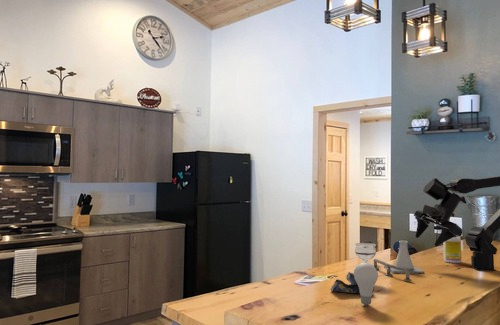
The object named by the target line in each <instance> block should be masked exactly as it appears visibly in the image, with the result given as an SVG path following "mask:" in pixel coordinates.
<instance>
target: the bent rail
mask: <svg viewBox="0 0 500 325" xmlns="http://www.w3.org/2000/svg"><path fill="white" fill-rule="evenodd" d="M378 264H381V265H382V266H384V265H385V266H387V269H386V273H385V274H384V276H386V277H392V276H393V273H392V272H390V268H394V269H398V270H402V271H405V272H406V274H405V278H403V281H404V282H406V281H408V282H409V283H411V281H412V280H413V279H412V278H410V275H411V274H410V273H409V270H408V269H406V268H402V267H398V266H394V265H395V264H394V265H393V264H390V263H388V262H386V261H385V262H384V261H382V260H380V259H377V258H374V259H373V266H374V267H375V268H376V270H377V271H378V270H380V268H379V267H378Z"/></svg>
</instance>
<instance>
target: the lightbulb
mask: <svg viewBox="0 0 500 325" xmlns="http://www.w3.org/2000/svg"><path fill="white" fill-rule="evenodd" d="M353 274H354V278H355V280H356V282H357V284H358V287H359V291H360V293H359V295H360V302H361V304H362V305H363V306H365V307H368V306H369V305H371V304H372V296H373V294H372V292H373V293H374V291H373V290H374V287H375V285H376V283H377V280H378V278H379V273H378V270H376V268H375V267H374V264H371V263H370V262H367V263H365V262H364V261H363V262H361V263H360V262H359V263H358V264H357V265H356V266H355V268H354V269H353Z"/></svg>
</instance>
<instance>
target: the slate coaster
mask: <svg viewBox="0 0 500 325" xmlns="http://www.w3.org/2000/svg"><path fill="white" fill-rule="evenodd" d="M413 266H414V269H411V270H409V273H410V275H411V274H412V275H415V274H416V275H418V274H417V273H426V272H425V270H422V269H421V268H418V267H416V266H415V265H413ZM383 268H385V269H386V270H387V266H385V265H383ZM390 272H391V274H395V273H400V274H401V275H402V274H403V275H404V273H406V272H405V271H402V270H398V269H394V268H390Z"/></svg>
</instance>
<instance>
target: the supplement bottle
mask: <svg viewBox="0 0 500 325" xmlns="http://www.w3.org/2000/svg"><path fill="white" fill-rule="evenodd" d="M461 240H462V239H461V237H459V236H457V237H453V238H451V239H449V240H447V241H445V242H444V243H442V246H443V247H442V248H443V249H442V250H443V251H442V252H443V261H444V262H446V263H449V262H450V263H451V264H460V263H462V260H463V259H462V243H461V242H462V241H461ZM450 263H449V264H450Z"/></svg>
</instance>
